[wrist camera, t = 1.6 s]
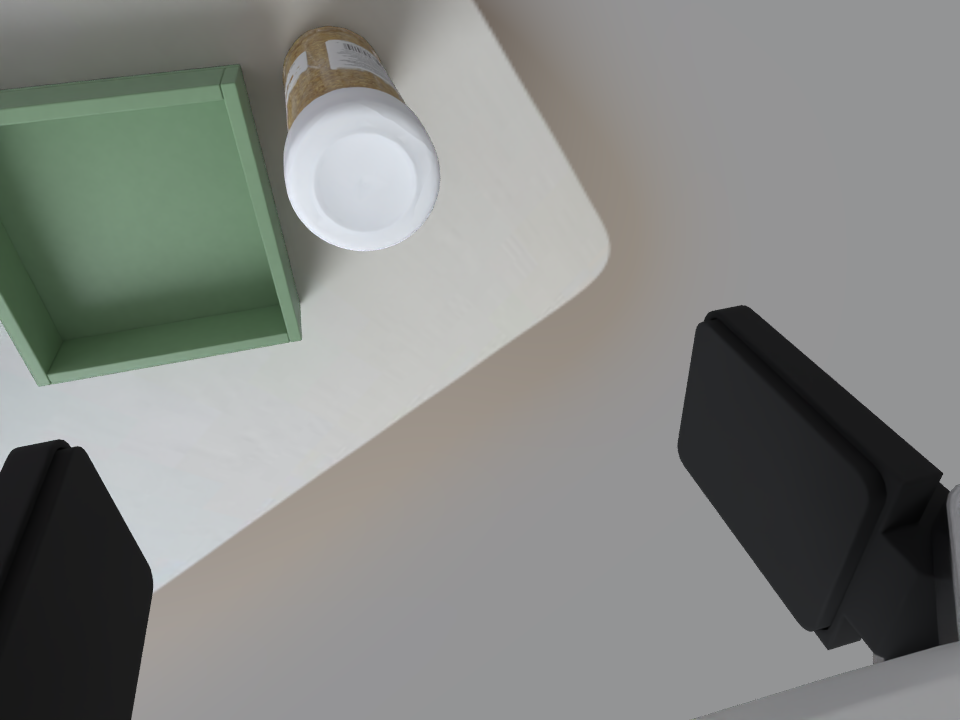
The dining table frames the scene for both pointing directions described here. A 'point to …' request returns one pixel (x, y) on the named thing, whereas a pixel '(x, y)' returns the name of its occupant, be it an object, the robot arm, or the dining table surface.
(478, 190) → the dining table surface
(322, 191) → the sprinkles bottle
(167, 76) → the green bin
